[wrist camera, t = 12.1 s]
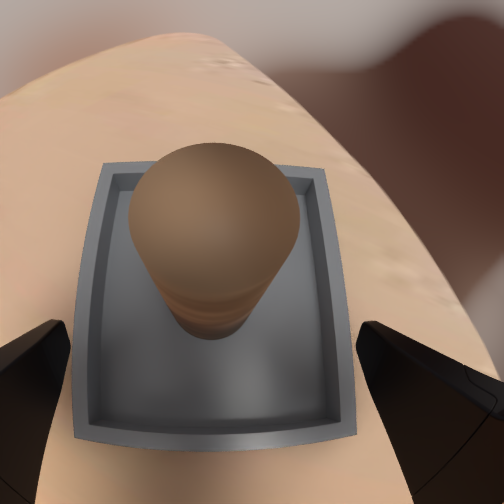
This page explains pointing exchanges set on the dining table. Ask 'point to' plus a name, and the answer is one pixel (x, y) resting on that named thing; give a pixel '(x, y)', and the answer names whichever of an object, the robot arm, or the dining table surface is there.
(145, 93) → the dining table surface
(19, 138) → the dining table surface
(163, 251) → the brown upright cylinder
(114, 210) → the tray
